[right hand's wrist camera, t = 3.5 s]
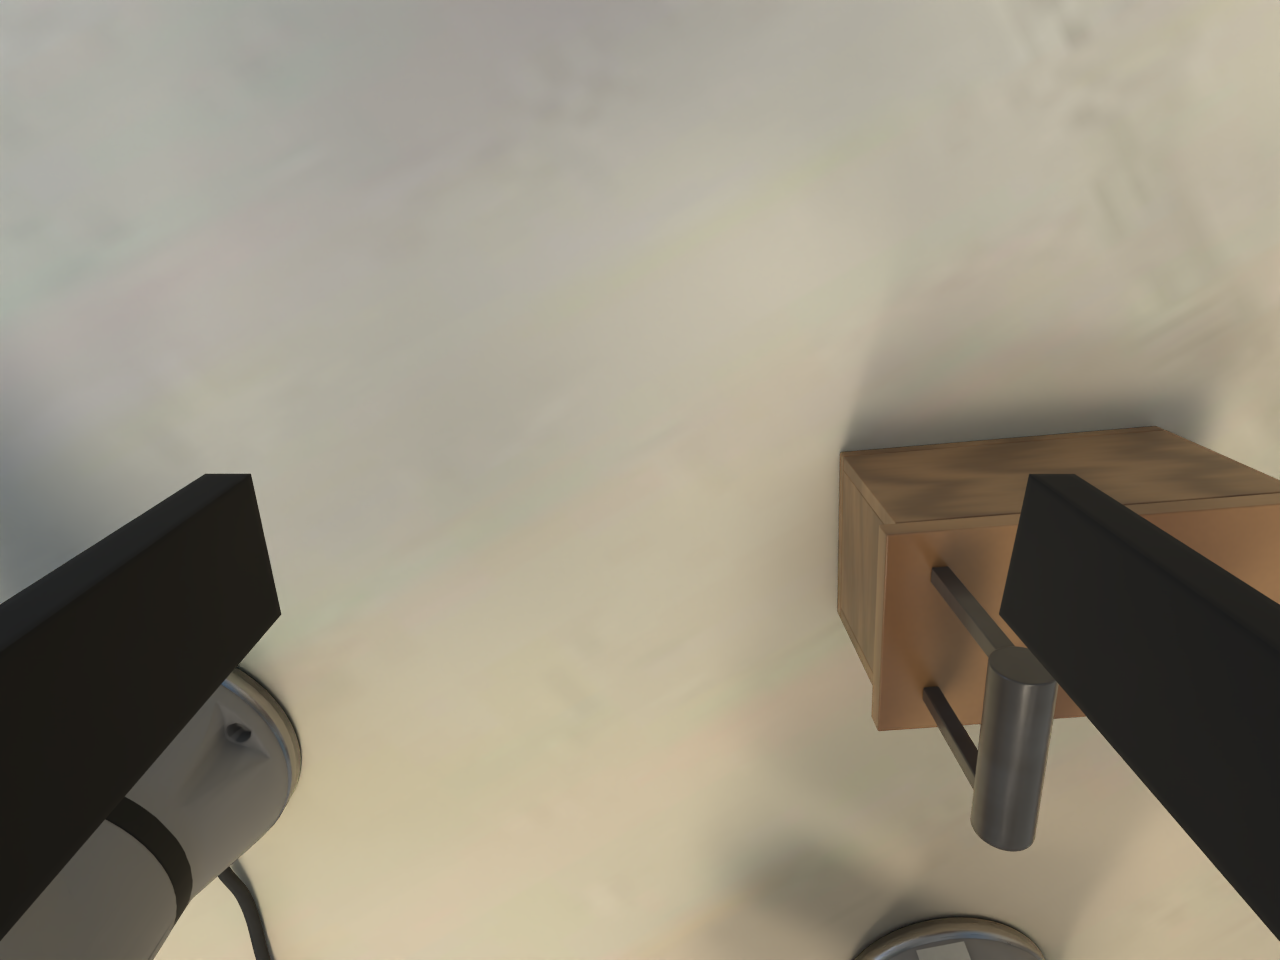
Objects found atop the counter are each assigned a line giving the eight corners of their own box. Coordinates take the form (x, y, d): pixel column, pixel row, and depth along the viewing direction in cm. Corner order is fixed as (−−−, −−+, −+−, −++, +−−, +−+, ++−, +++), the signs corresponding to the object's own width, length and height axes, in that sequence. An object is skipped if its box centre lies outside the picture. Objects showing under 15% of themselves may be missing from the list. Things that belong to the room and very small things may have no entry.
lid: (871, 716, 33) (947, 887, 25) (878, 524, 29) (970, 649, 21) (1249, 689, 32) (1453, 854, 24) (1303, 490, 29) (1566, 605, 21)
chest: (836, 612, 41) (885, 714, 33) (839, 451, 37) (895, 522, 29) (1125, 590, 40) (1247, 688, 32) (1156, 425, 37) (1302, 489, 29)
